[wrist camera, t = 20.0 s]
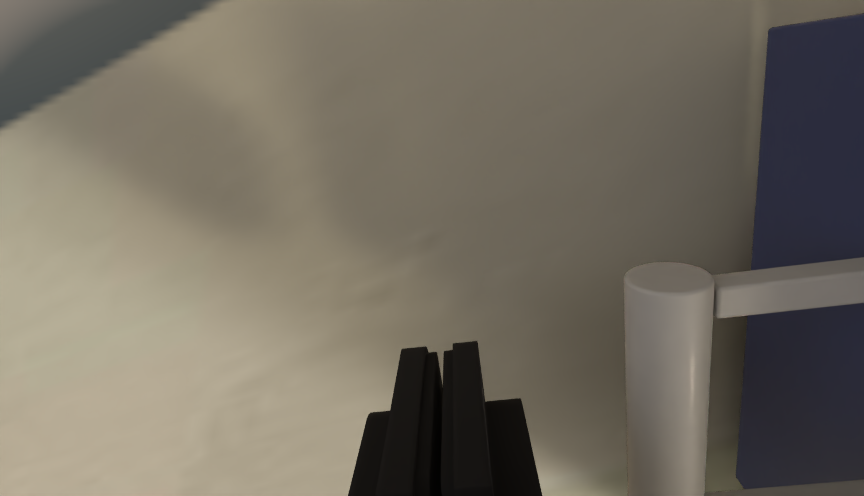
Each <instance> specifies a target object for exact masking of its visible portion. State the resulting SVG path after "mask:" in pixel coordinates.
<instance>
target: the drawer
mask: <svg viewBox="0 0 864 496" xmlns="http://www.w3.org/2000/svg"><path fill="white" fill-rule="evenodd" d="M713 315H714V316H715V317H716V318H730V317H739V316H747V329H746V343H745V356H744V370H743V384H742V397H741V411H740V425H739V438H738V452H737V465H736V478H737V479H738V481H739V482H740V483H741V485H742V486H743V488H744V489H742V490H730V491H718V492H706V493H705V474H706V453H707V432H708V411H709V390H710V369H711V348H712V326H713ZM624 318H625V370H626V422H627V474H628V496H864V13H863V14H856V15H850V16H843V17H836V18H830V19H823V20H817V21H810V22H804V23H797V24H791V25H785V26H778V27H772V28H770V29H769V31H768V42H767V56H766V69H765V83H764V97H763V110H762V124H761V138H760V151H759V165H758V179H757V192H756V206H755V220H754V233H753V247H752V261H751V271H742V272H734V273H725V274H716V275H711V274H710V273H709V272H708V271H706V270H704V269H702V268H700V267H697V266H694V265H690V264H685V263H678V262H652V263H646V264H642V265H638V266H635V267H633V268H631V269H630V270H628V271H627V273H626V274H625V276H624Z"/></svg>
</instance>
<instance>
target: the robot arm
mask: <svg viewBox="0 0 864 496" xmlns="http://www.w3.org/2000/svg"><path fill="white" fill-rule="evenodd" d="M348 496H542V493H541V488H540V483H539V479H538V474H537V470H536V465H535V460H534V456H533V451H532V447H531V442H530V437H529V433H528V428H527V424H526V419H525V414H524V410H523V405H522V401H521V398H518V399H508V400H498V401H487V402H485V397H484V389H483V381H482V373H481V366H480V358H479V350H478V343H477V341H472V342H463V343H454V344H453V350H450V351H444V364H443V386H442V380H441V373H440V367H439V361H438V355H437V352H431V353H428V349H427V347H426V346H425V347H416V348H407V349H402V350H401V354H400V360H399V365H398V371H397V377H396V382H395V388H394V393H393V399H392V404H391V410H390V411H383V412H373V413H370V414H369V415H368V418H367V421H366V425H365V429H364V433H363V437H362V441H361V445H360V449H359V453H358V457H357V461H356V466H355V470H354V474H353V478H352V482H351V486H350V490H349V494H348Z"/></svg>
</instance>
